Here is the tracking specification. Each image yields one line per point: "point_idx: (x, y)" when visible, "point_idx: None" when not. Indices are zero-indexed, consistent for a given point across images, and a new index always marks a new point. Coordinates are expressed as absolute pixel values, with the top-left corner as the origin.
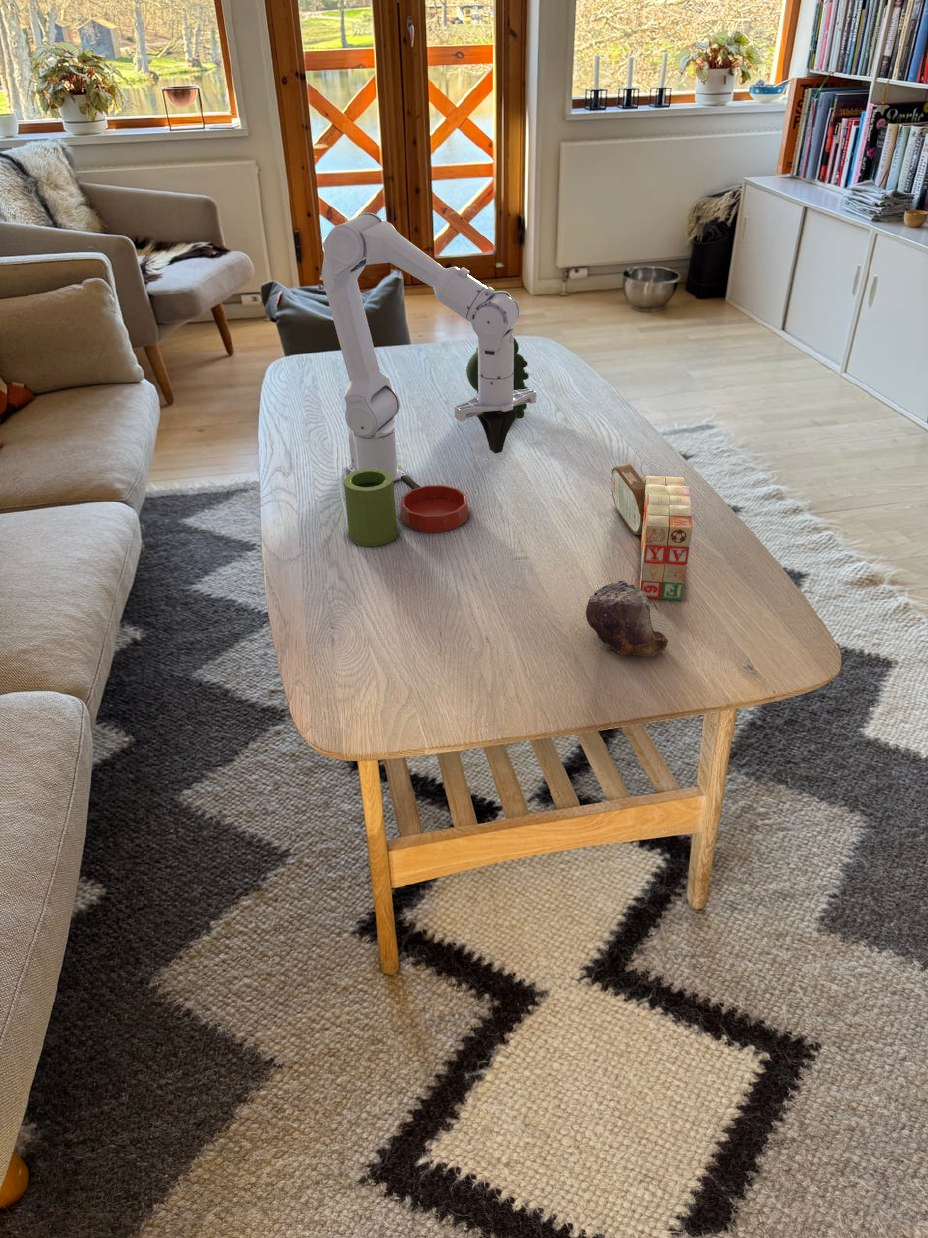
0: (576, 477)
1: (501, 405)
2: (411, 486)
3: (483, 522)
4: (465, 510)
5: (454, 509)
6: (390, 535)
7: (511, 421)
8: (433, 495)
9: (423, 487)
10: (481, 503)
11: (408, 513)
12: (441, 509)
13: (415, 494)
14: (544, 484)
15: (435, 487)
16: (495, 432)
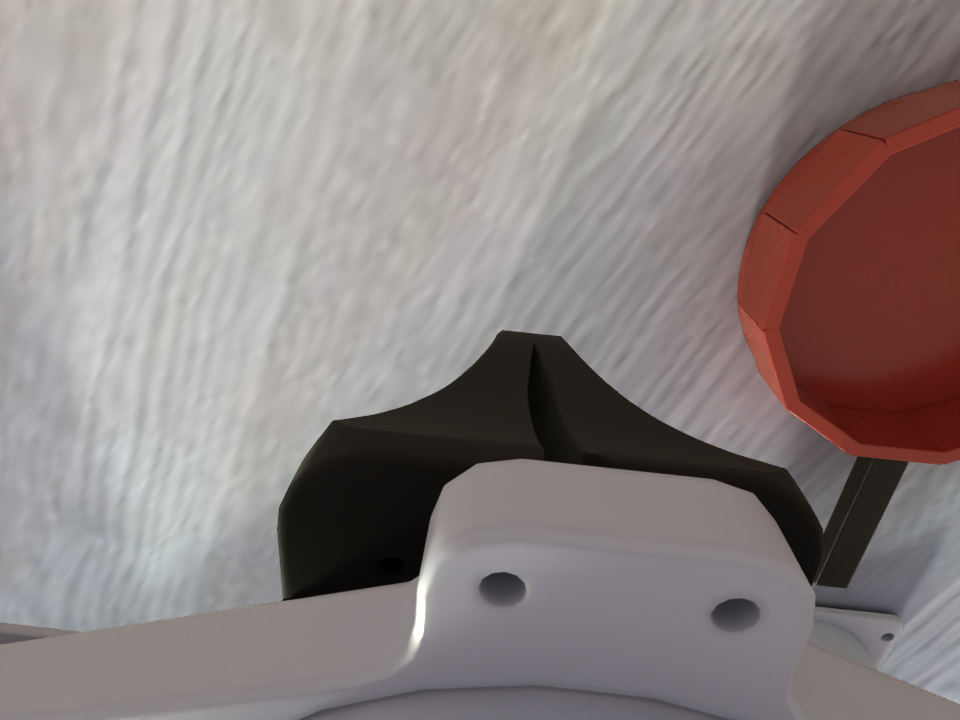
0: (46, 153)
1: (704, 708)
2: (890, 495)
3: (789, 38)
4: (885, 125)
5: (823, 241)
6: None
7: (411, 417)
8: (815, 400)
9: (881, 447)
10: (638, 232)
11: None
12: (869, 282)
13: (918, 435)
14: (242, 197)
15: (827, 417)
16: (627, 415)
